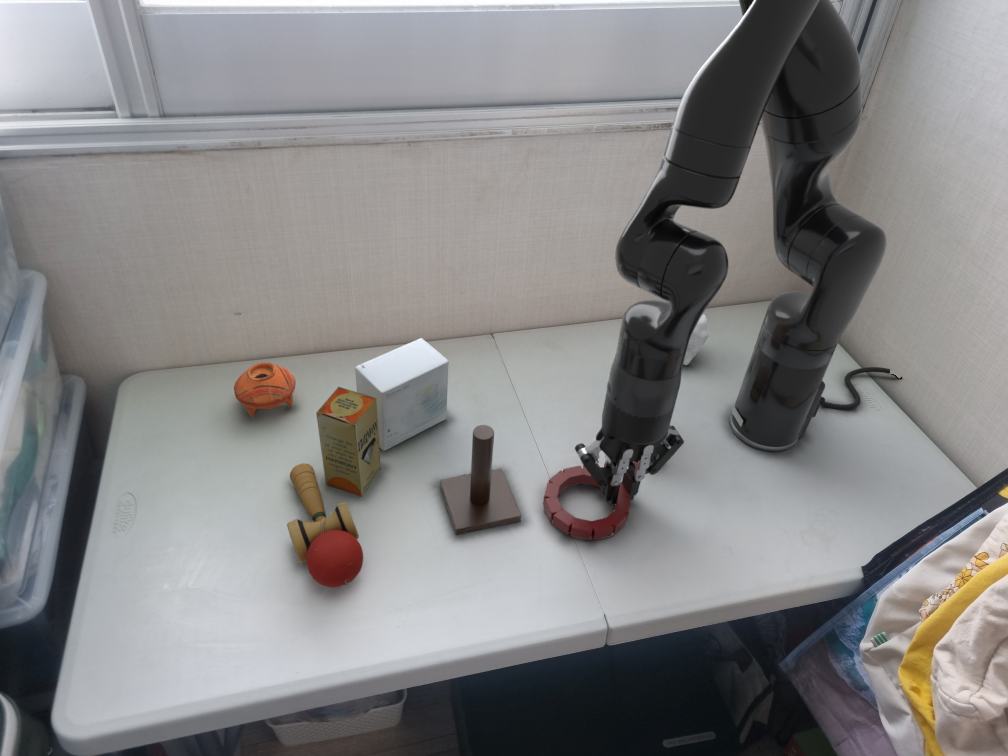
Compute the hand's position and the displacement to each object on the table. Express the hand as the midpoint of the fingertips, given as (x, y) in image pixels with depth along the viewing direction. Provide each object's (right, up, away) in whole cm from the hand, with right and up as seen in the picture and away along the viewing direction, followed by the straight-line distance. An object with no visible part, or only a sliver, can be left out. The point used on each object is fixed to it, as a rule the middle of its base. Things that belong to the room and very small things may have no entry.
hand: (618, 497), depth 94 cm
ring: (-4, -1, -1) cm, 4 cm away
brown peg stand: (-17, -1, -1) cm, 17 cm away
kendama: (-35, -4, -6) cm, 36 cm away
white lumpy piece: (+10, +18, +24) cm, 31 cm away
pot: (-46, +11, +10) cm, 49 cm away
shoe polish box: (-33, +2, +1) cm, 33 cm away
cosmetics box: (-28, +8, +9) cm, 30 cm away
